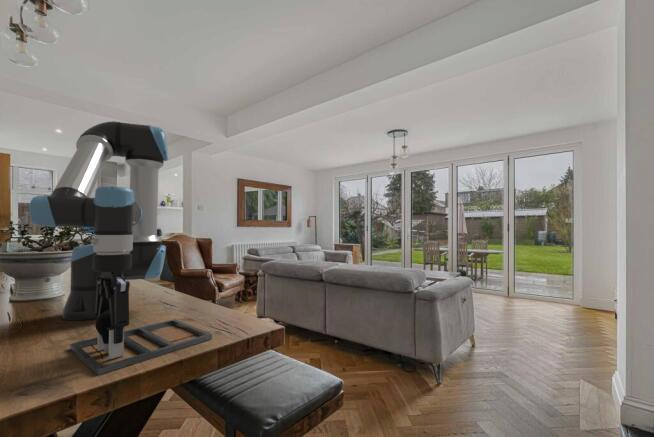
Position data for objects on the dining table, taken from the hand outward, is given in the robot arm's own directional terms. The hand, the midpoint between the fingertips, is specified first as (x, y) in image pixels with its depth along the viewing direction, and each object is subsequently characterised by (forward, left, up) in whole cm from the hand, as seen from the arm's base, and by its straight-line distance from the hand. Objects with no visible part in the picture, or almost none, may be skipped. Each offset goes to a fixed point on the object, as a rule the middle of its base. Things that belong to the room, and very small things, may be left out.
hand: (110, 352), depth 71 cm
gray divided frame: (0, +7, 0) cm, 7 cm away
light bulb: (0, 0, 0) cm, 1 cm away
